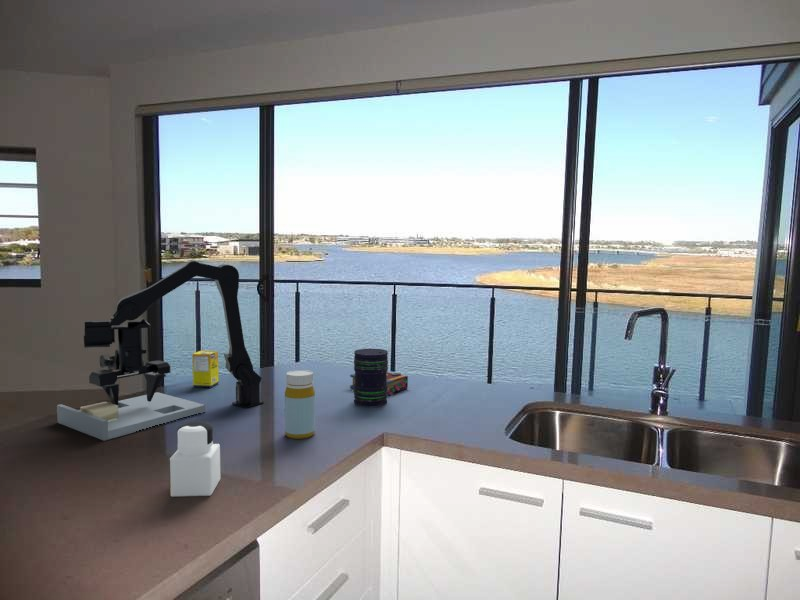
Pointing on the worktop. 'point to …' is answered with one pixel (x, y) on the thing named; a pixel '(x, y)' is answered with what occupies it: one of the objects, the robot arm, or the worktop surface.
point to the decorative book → (392, 382)
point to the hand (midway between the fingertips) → (132, 405)
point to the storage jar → (370, 377)
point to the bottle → (299, 404)
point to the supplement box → (205, 369)
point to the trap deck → (129, 415)
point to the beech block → (102, 410)
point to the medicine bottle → (195, 461)
